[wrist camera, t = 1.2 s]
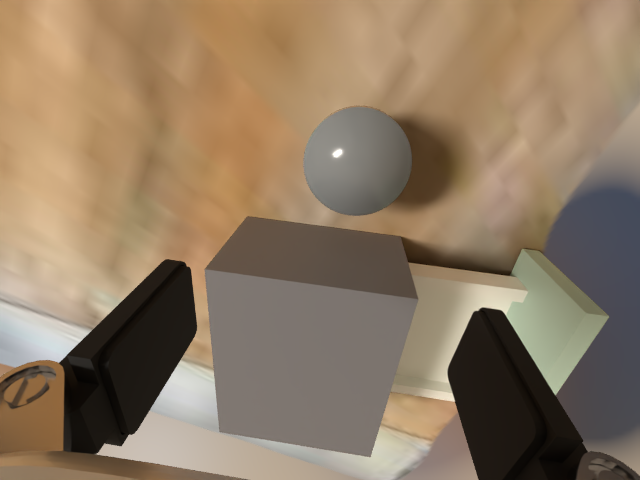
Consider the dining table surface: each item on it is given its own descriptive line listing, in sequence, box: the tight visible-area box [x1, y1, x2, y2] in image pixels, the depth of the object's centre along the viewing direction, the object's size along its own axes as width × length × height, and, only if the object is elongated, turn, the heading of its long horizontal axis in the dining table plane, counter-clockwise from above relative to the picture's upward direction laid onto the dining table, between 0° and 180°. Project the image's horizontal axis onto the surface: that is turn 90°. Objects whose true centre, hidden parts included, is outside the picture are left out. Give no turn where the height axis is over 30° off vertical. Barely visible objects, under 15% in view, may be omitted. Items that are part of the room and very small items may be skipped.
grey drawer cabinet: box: [205, 216, 418, 457], centre depth 28 cm, size 14×18×9 cm
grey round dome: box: [304, 106, 412, 216], centre depth 21 cm, size 7×7×2 cm
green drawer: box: [390, 249, 609, 402], centre depth 28 cm, size 14×19×8 cm
